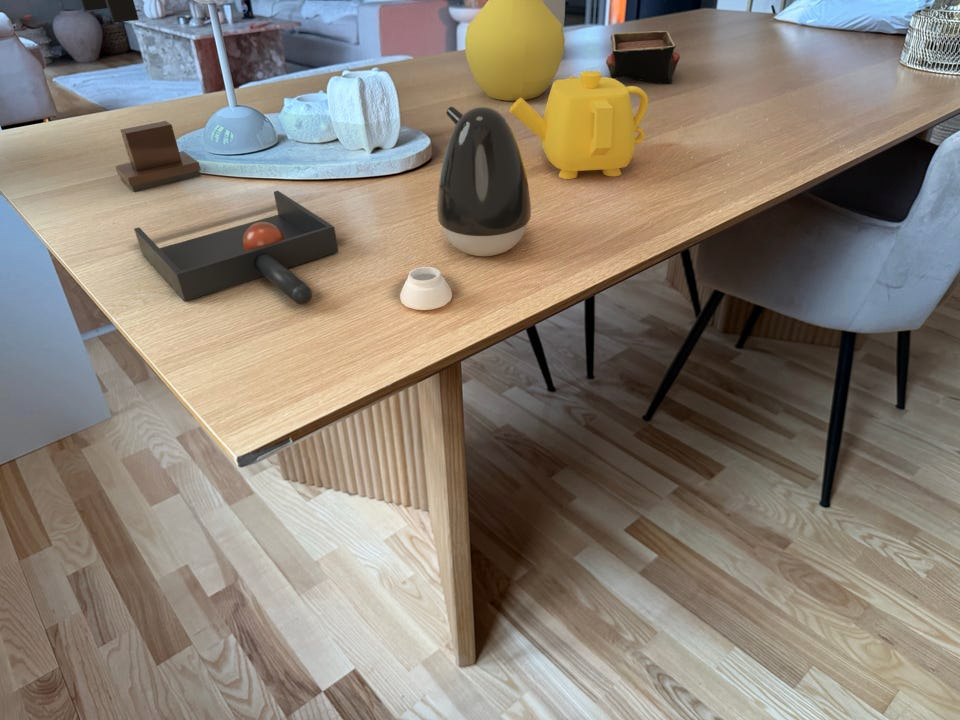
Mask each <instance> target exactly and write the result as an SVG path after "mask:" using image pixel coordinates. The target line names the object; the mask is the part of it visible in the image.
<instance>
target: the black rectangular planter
mask: <svg viewBox="0 0 960 720" xmlns="http://www.w3.org/2000/svg"><path fill="white" fill-rule="evenodd" d="M610 42H611V48H612V52H611V54H609V55H608V56H607V58H606V60H605V64H606V65H607V66H606V67H607V68H608V71H609V76H610V78H613V79H615V80H617V79H621V78H629V79H634V80H639V81H642V82H648V83H653V84H658V85H659V84H661V85H663V84H665V85H672V84H673V77H674V74H675V71H676V68H677V66H678V63H679V60H680V58H681V54H680V53H678V52H676V51H675V48H676V46H677V44H676V42H675V41H674V40H673V37H672V35H671V32H669V31H667V30H654V31H651V30H650V31H627V32H616V33H612V34H611V35H610Z"/></svg>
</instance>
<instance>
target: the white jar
mask: <svg viewBox="0 0 960 720" xmlns="http://www.w3.org/2000/svg"><path fill="white" fill-rule="evenodd" d="M452 298H453V292H452V289H451V287H450V285H449V284H448V282H447V281H446V279H445V277H444V276H442V273H441V271H440V270H439V269H437V268H435V267H431V266H422V267H421V266H420V267H416V268H414V269H412V270H410V271H409V273H408V276H407V279H405V282H404V283H403V287H402V289H401V291H400V293H399V299H400V302H401V304H402V305H404V306H405V307H406V308H409V309H412V310H417V311H428V310H429V311H430V310H436V309H439V308H442V307H445V306H446V305H447V304H448V303H450V302H451V300H452Z"/></svg>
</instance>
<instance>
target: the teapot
mask: <svg viewBox="0 0 960 720" xmlns="http://www.w3.org/2000/svg"><path fill="white" fill-rule="evenodd" d="M602 76H603V73H602V72H601V71H598V70H584V71H582V72H579V77H578V76H568V77H567V78H563V79H562V78H561V79H555V80H554V81H553V82H552V85H551V87H550V91H549V94H548V98H547V101H546V105H545V109H544V113H543V117H542V115H540V114H539V113H538V112H537V111H536V110H535V109H534V108H533V107H532V106H531V105H530V104H529V103H528V102H526V101H527V100H523V99H522V98H519V99H518V100H517V101H514V103H513V104H512V105H511V106H510V108H509V112H510V113H511V114H512V115H513V116H514V117H516V119H518V120H519V122H521V123H522V124H523V125H525V127H526V128H528V129H529V130H530V131H531V132H532V133H533V134H535V136H537V137H538V138H539V139H540V140H541V145H542V149H543V151H544V154H545V156H546V158H547V160H548V161H549V162H550V163H551V164H552V165H553V166H554V168H557V169H558V170H560V171H559V174H558V177H559V178H561V179H564V180H573V179H576V178H578V173H579V172H581V171H598V170H601V171H602V174H603V176H607V177H618V176H621V175H622V171H621V168H626V167H627V166H628V165H629V164H630V162H631V160H632V158H633V156H634V154H635V150H636V149H635V148H636V147H635V146H636V145H637V146H638V145H640V144H641V143H642V142H643V141H644V140H645V131H644V128H642V127H641V126H640V124H641V122H642V120H643V119H644V117H645V115H646V112H647V110H648V107H649V96H648V95H647V93H646V91H644V90H643V89H642V88H640V87H638V86H635V85H630V86H629V85H628V86H626V85H625V84H623V83H622V82H621V81H620V80H617V79H613V78H611V77H608V76H606V77H605V76H603V77H602ZM632 94H633V95H638V96H639V98H640V101H639V102H640V103H639V105H638V108H637V111H636V113H635V115H634V110H633V104H632V99H631V95H632ZM639 126H640V127H639ZM636 133H638V135H637V136H636Z"/></svg>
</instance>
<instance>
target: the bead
mask: <svg viewBox="0 0 960 720" xmlns="http://www.w3.org/2000/svg"><path fill="white" fill-rule="evenodd" d="M281 240H285V238H284V235H283V233H282V232H281V230H280V229H279V228H278V227H276V226H275V225H273V224H271V223H268V222H258V223H255V224H253V225H251V226H250V227H249V228H248V229H247V230H246V231H245V233H244V236H243V247H244V250H245V251H248V250H252V249H255V248H258V247H262V246H265V245H268V244H271V243H275V242H278V241H281Z"/></svg>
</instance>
